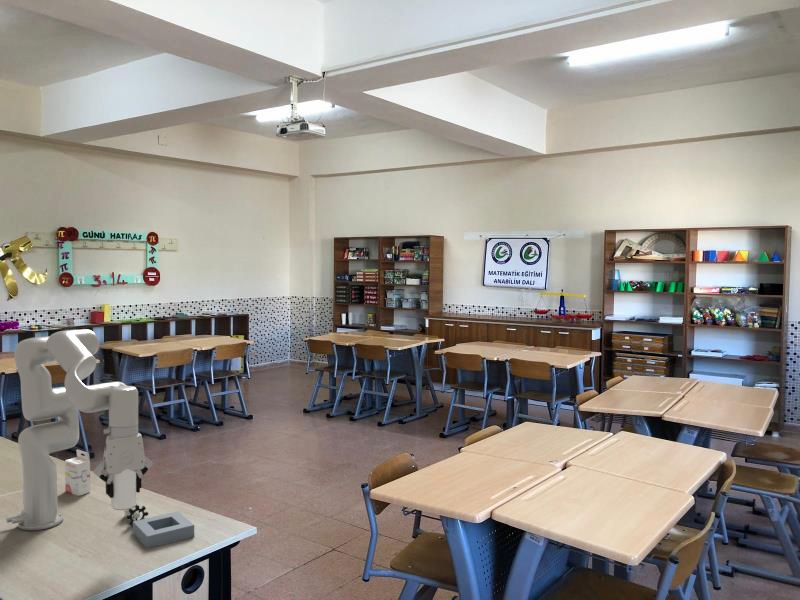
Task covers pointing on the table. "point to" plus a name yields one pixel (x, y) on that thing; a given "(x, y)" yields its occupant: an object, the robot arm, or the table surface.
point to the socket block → (163, 529)
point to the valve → (135, 513)
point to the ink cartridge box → (78, 474)
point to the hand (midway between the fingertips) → (123, 493)
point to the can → (124, 490)
